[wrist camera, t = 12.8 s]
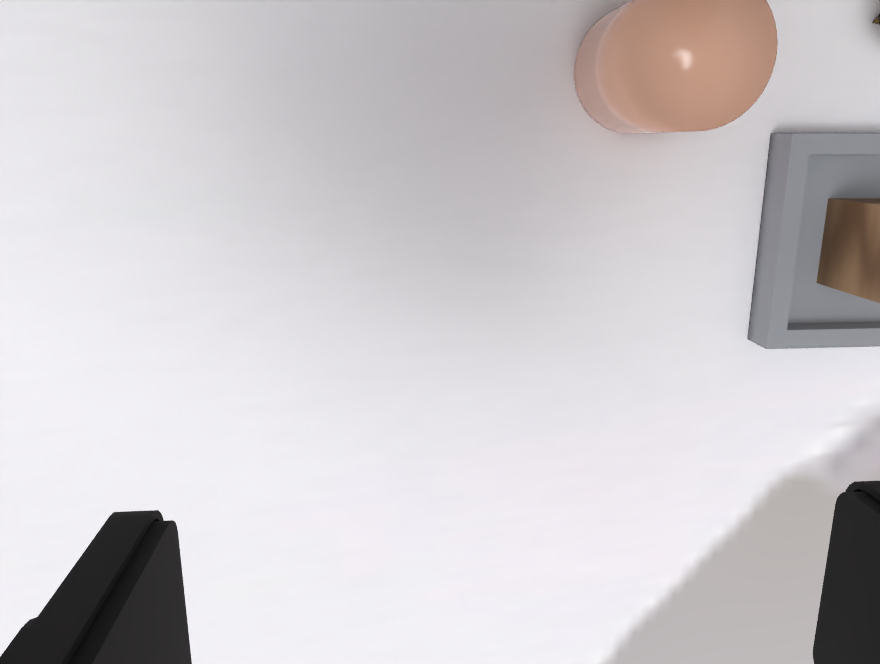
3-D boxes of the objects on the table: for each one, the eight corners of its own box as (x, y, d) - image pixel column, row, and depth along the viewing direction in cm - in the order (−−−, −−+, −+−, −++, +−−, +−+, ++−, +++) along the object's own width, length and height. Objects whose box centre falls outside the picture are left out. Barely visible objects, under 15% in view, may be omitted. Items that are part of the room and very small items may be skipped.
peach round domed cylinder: (577, 5, 35) (633, -35, 27) (696, 6, 35) (785, -32, 28) (571, 133, 36) (623, 131, 29) (686, 133, 37) (768, 131, 29)
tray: (770, 133, 37) (792, 133, 35) (970, 133, 38) (1002, 133, 36) (747, 338, 40) (766, 348, 38) (933, 334, 41) (961, 344, 39)
